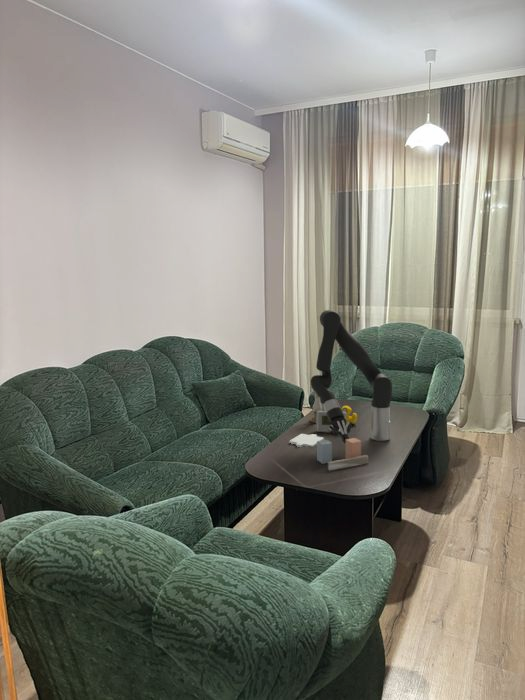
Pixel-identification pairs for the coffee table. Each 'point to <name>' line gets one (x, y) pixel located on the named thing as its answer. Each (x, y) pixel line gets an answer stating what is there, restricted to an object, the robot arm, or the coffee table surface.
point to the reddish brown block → (353, 448)
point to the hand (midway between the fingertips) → (347, 442)
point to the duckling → (348, 411)
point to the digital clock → (324, 421)
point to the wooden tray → (347, 462)
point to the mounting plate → (306, 440)
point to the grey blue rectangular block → (324, 451)
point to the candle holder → (316, 407)
